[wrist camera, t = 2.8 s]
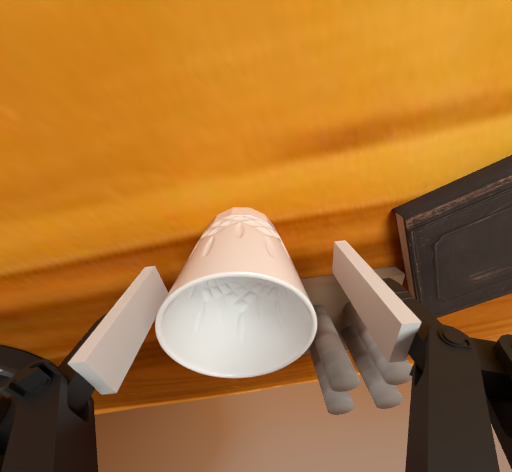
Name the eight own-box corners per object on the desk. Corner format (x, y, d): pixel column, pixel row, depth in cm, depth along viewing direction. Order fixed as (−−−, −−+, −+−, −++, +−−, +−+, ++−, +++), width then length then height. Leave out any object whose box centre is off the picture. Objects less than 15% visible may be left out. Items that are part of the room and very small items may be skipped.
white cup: (297, 222, 18) (351, 307, 9) (258, 281, 21) (268, 388, 12) (219, 184, 16) (184, 244, 7) (189, 255, 19) (138, 361, 10)
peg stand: (277, 347, 26) (290, 431, 19) (268, 283, 21) (282, 365, 13) (377, 334, 26) (430, 414, 19) (394, 265, 21) (481, 339, 13)
